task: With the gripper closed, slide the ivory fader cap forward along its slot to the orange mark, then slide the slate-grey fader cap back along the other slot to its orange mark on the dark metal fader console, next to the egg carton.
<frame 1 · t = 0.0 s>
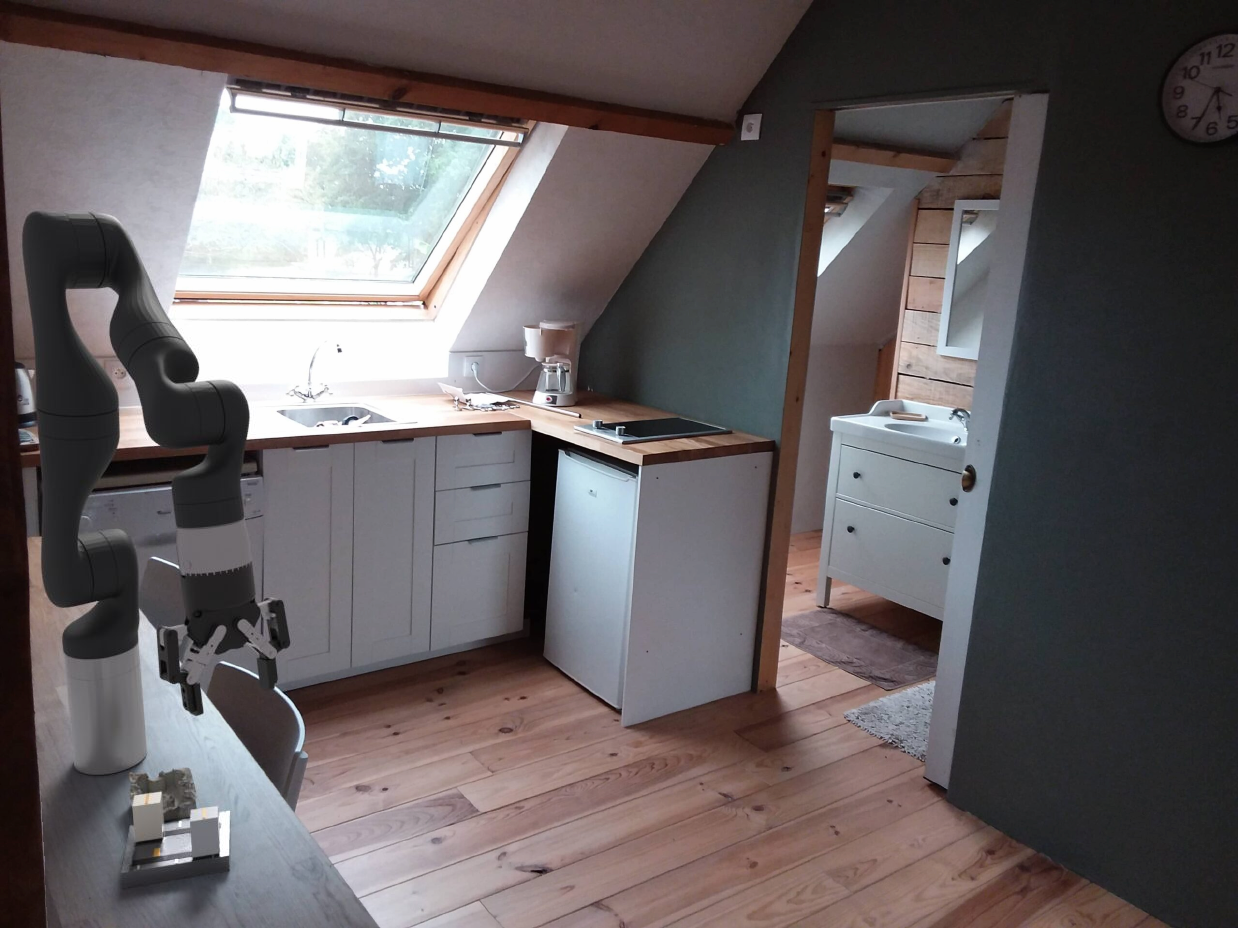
hand: (232, 701, 112), 22 cm above the table, tool pointing down, fingers open, 8 cm apart
fader console: (179, 854, 120), on the table
ivory fader cap: (148, 816, 120), point 5 cm above the table, slide at 0.0 cm
slate fader cap: (205, 831, 117), point 5 cm above the table, slide at 0.0 cm
egg carton: (165, 811, 129), on the table, touching fader console
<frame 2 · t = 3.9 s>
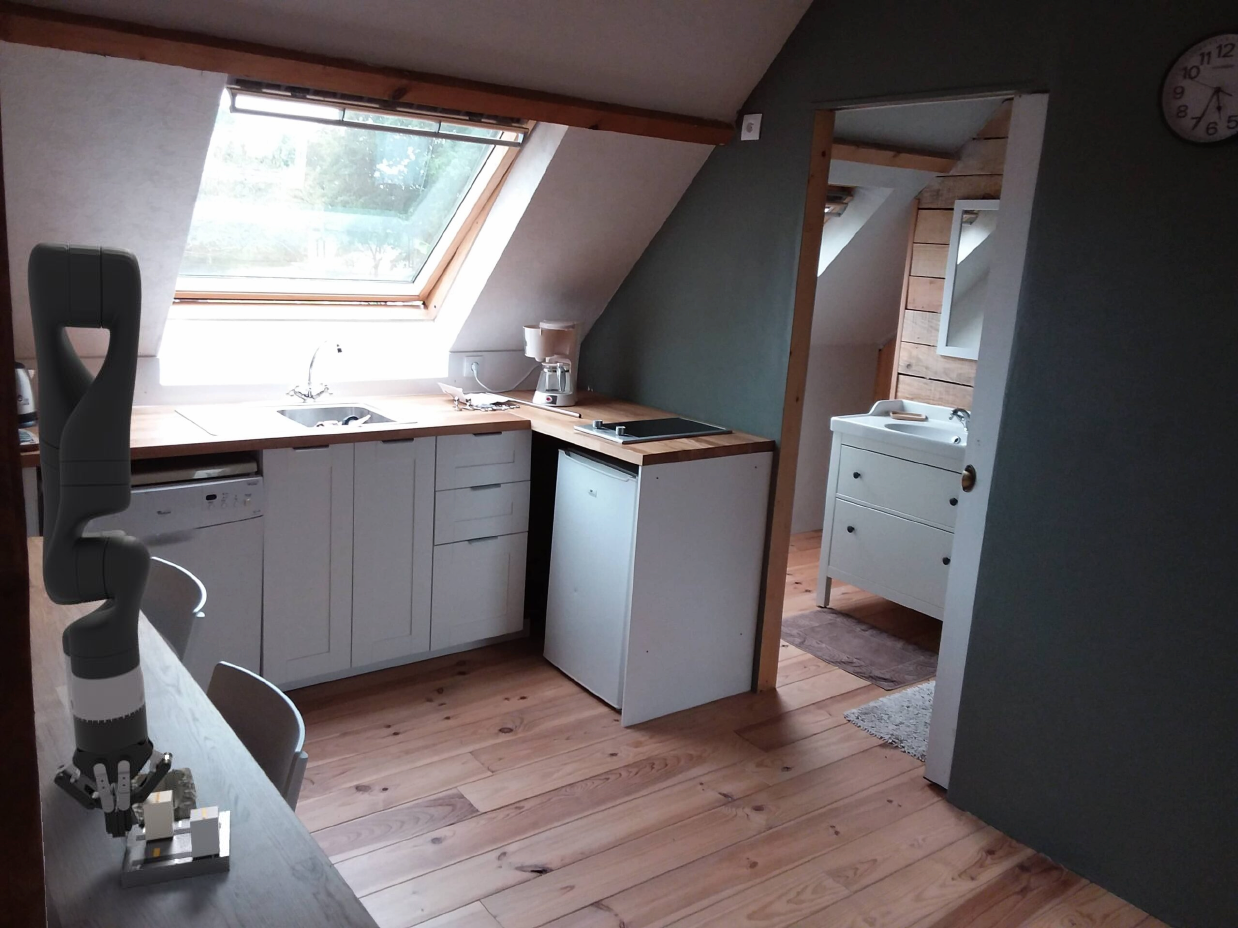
hand: (120, 833, 119), 3 cm above the table, tool pointing down, fingers closed
ivory fader cap: (159, 814, 120), point 5 cm above the table, slide at 1.2 cm, touching gripper
everything else where it was.
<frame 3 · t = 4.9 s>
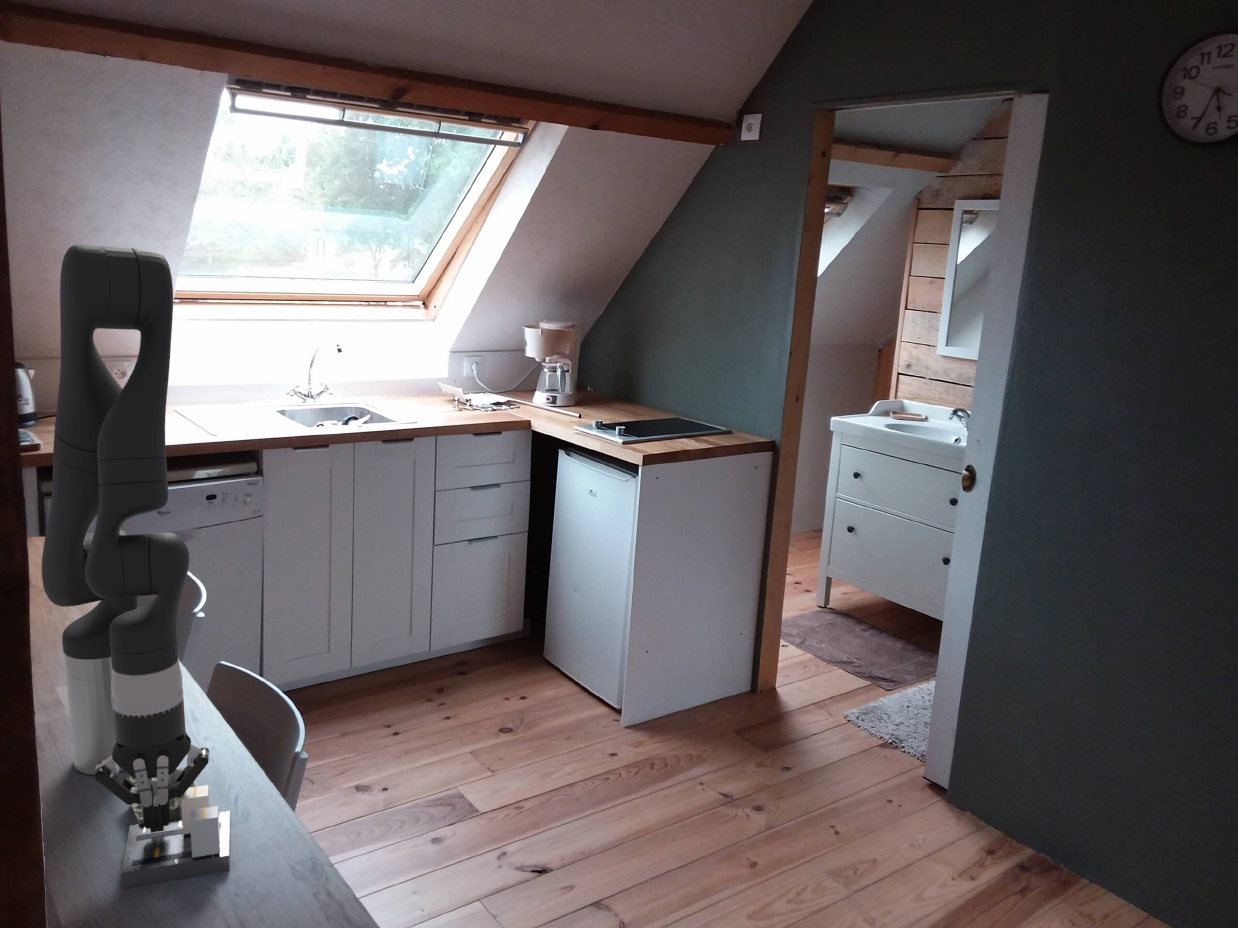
hand: (157, 827, 120), 3 cm above the table, tool pointing down, fingers closed
ivory fader cap: (195, 809, 122), point 5 cm above the table, slide at 5.3 cm, touching gripper
everything else where it was.
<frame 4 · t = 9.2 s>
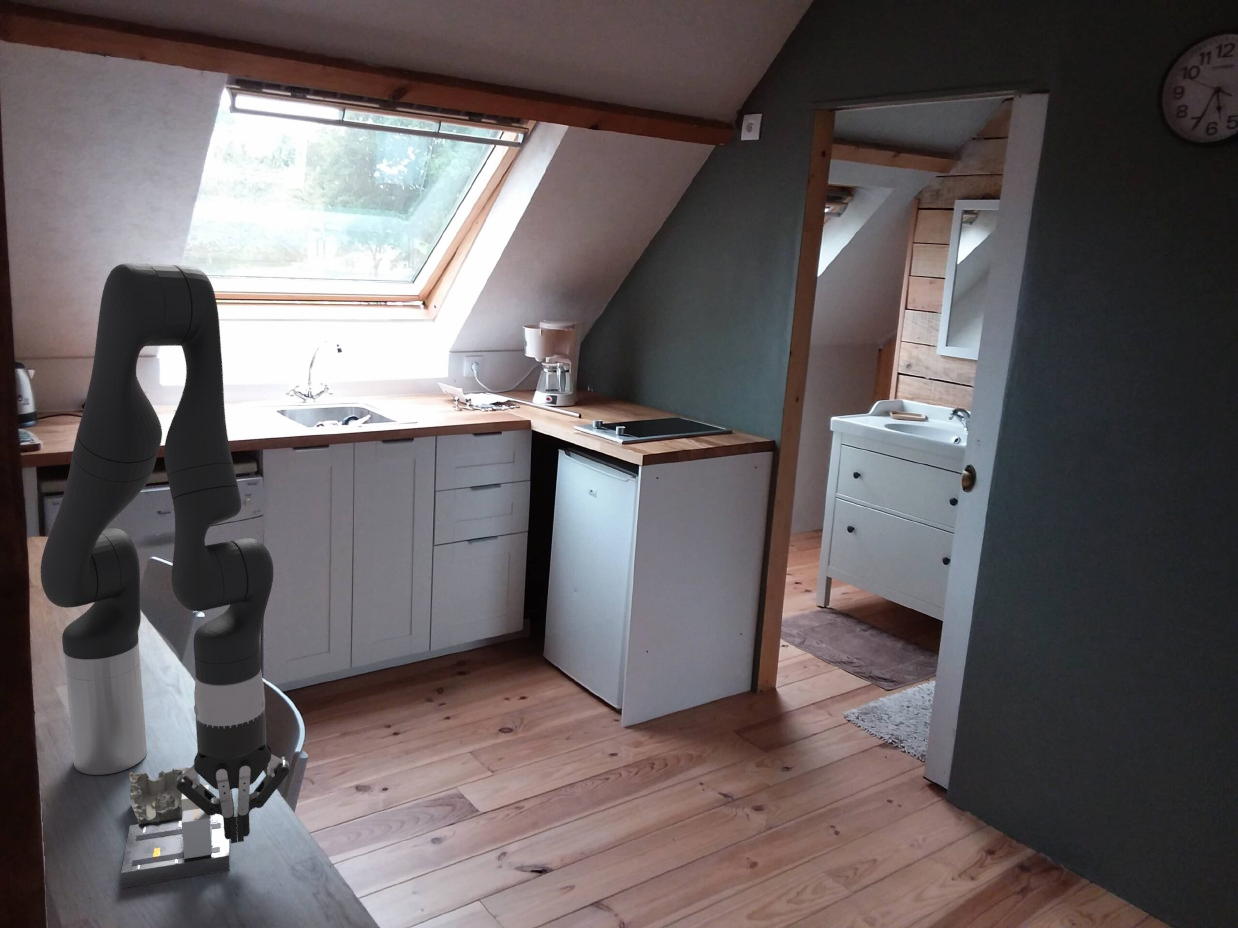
hand: (237, 838, 119), 3 cm above the table, tool pointing down, fingers closed
ivory fader cap: (196, 809, 122), point 5 cm above the table, slide at 5.3 cm
slate fader cap: (197, 832, 117), point 5 cm above the table, slide at 0.9 cm, touching gripper
everything else where it was.
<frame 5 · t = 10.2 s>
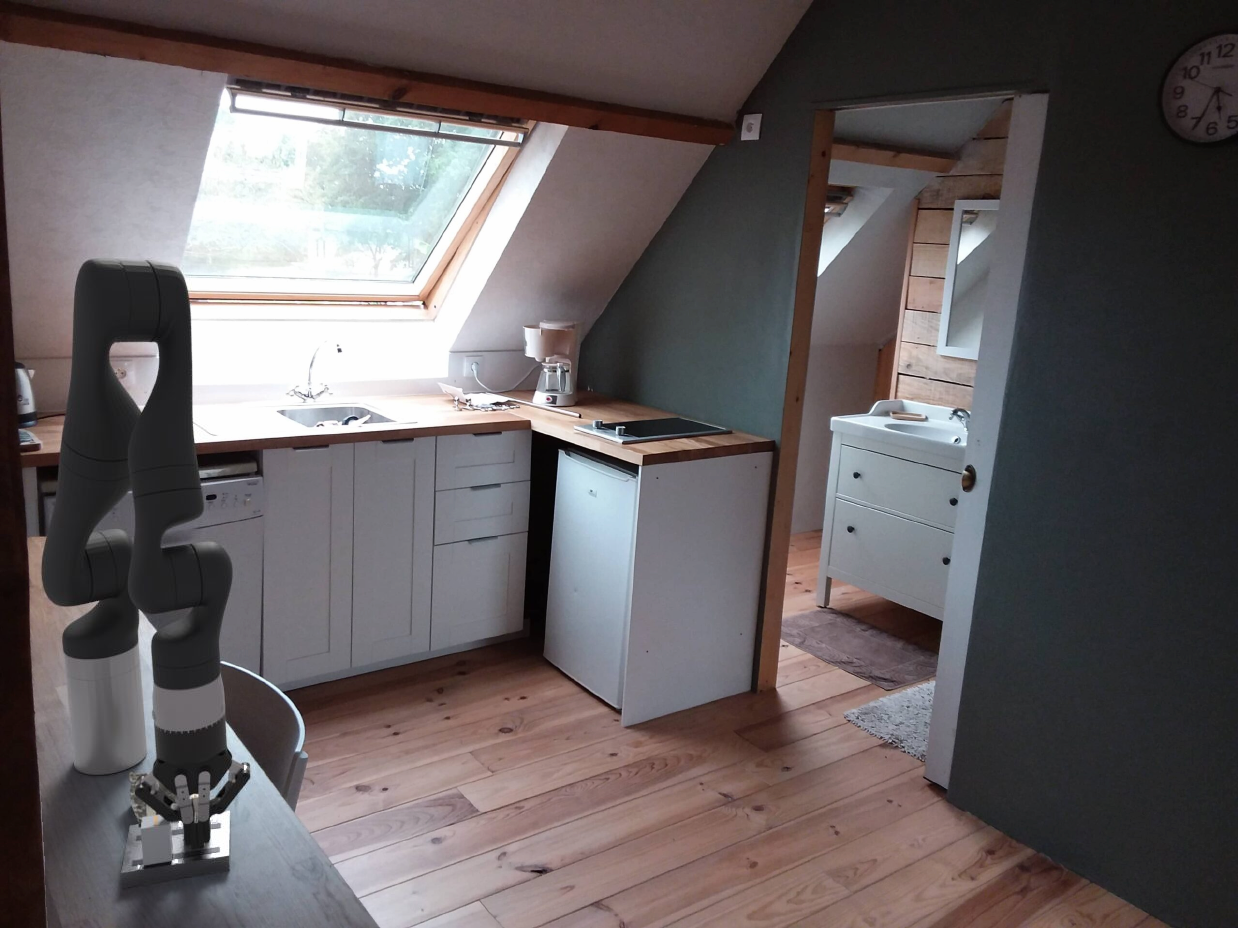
hand: (198, 844, 118), 3 cm above the table, tool pointing down, fingers closed
slate fader cap: (157, 838, 116), point 5 cm above the table, slide at 5.2 cm, touching gripper
everything else where it was.
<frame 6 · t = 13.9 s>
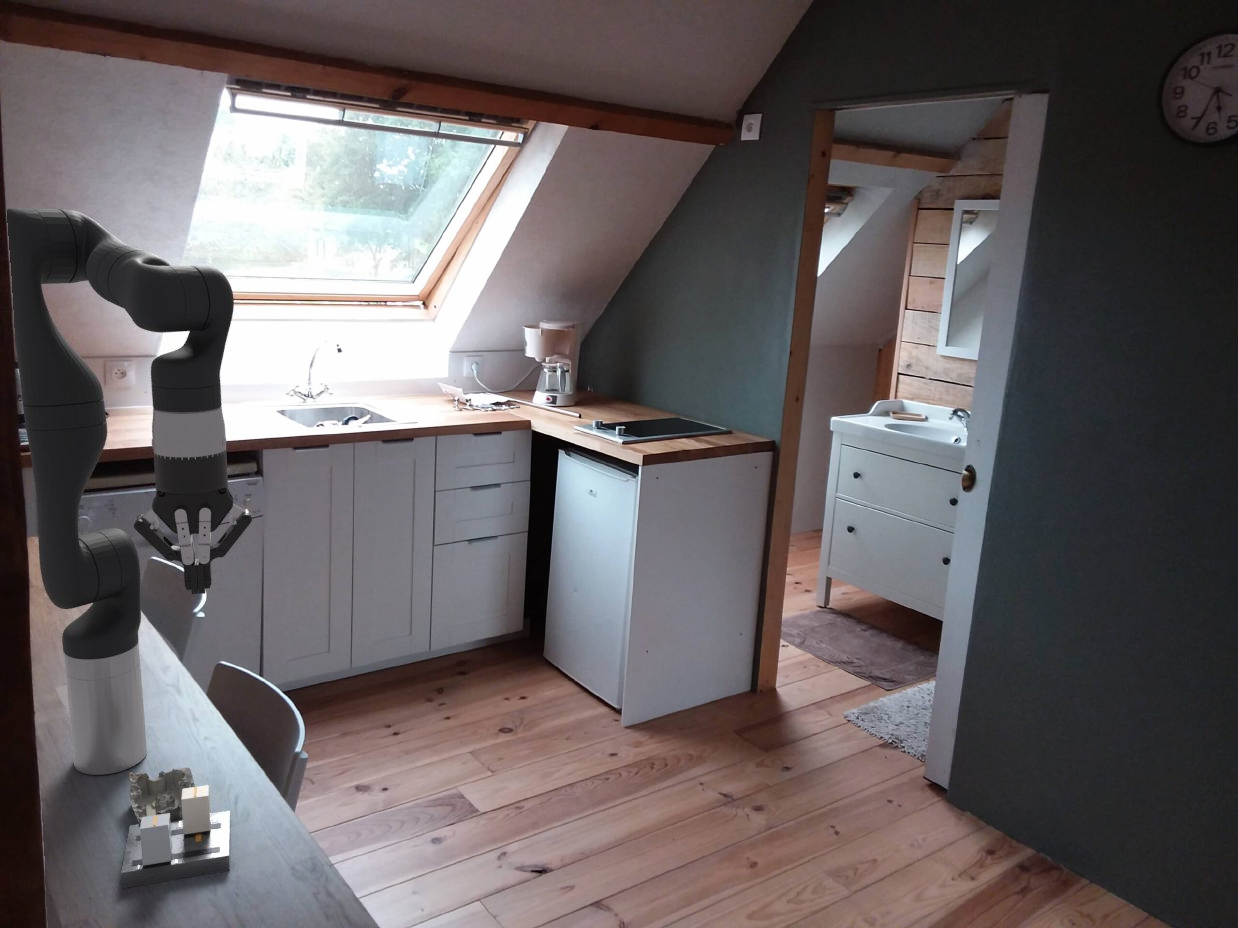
hand: (198, 591, 115), 33 cm above the table, tool pointing down, fingers closed
slate fader cap: (156, 838, 116), point 5 cm above the table, slide at 5.3 cm
everything else where it was.
at the end: ivory fader cap slide at 5.3 cm; slate fader cap slide at 5.3 cm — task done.
